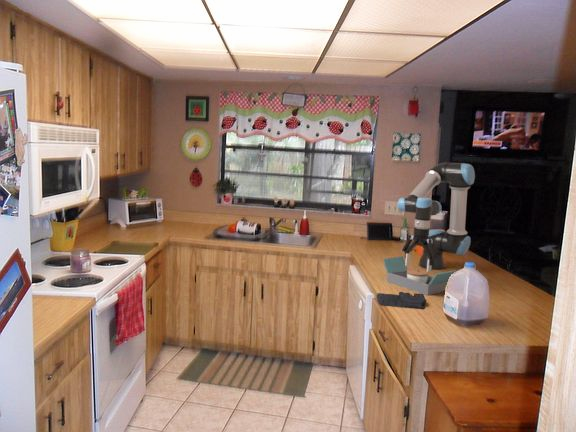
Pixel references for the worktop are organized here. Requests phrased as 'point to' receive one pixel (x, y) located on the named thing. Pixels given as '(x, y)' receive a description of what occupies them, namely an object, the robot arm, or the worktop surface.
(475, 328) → the worktop surface
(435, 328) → the worktop surface
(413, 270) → the lidded jar
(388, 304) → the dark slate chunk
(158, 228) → the worktop surface
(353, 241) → the worktop surface
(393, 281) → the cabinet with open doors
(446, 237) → the robot arm
